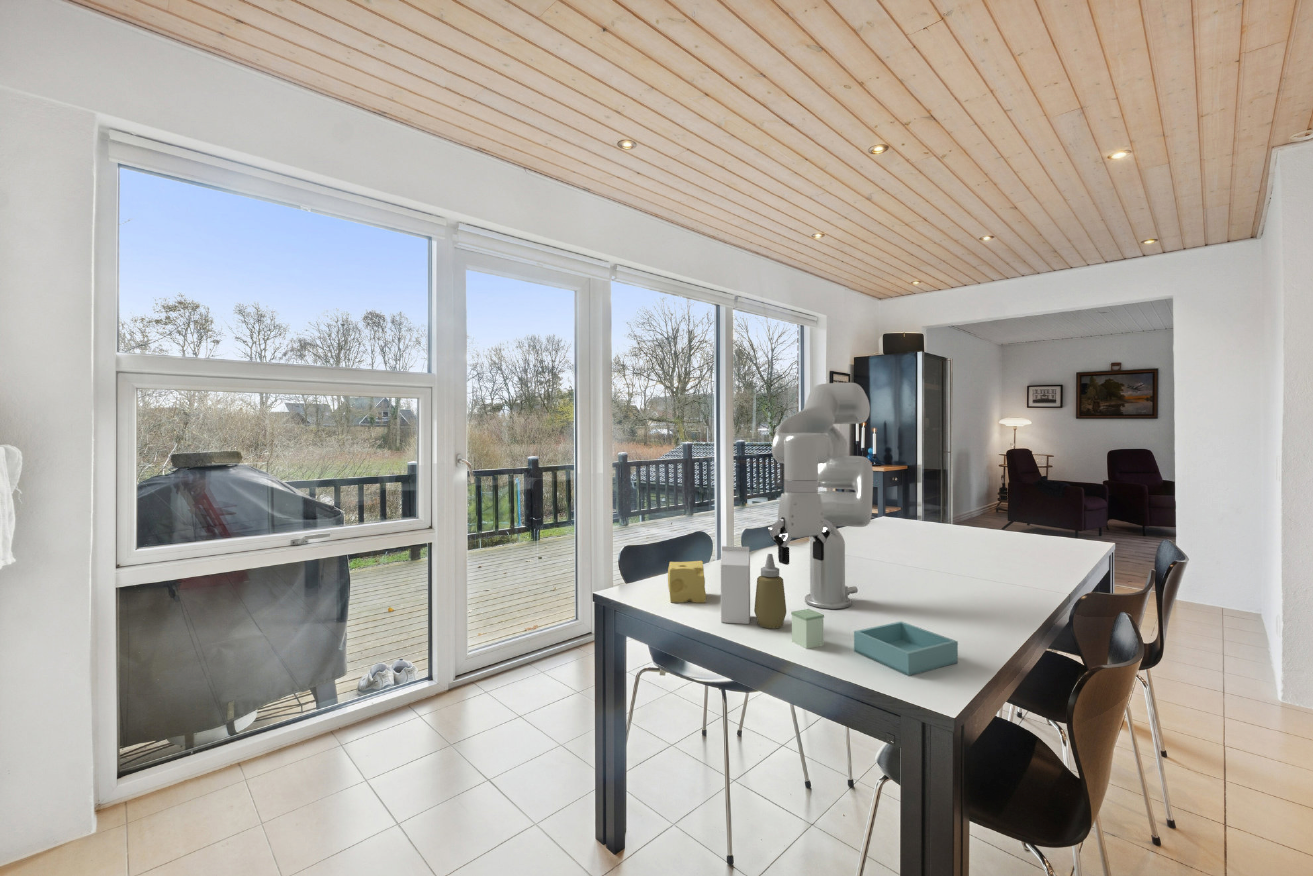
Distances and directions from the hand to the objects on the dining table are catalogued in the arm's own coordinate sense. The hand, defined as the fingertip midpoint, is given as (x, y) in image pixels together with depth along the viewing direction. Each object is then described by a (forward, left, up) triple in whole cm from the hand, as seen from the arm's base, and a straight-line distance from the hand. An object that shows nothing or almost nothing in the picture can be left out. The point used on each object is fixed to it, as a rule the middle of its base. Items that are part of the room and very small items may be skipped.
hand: (801, 561), depth 136 cm
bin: (-14, +17, -19) cm, 29 cm away
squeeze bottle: (-1, -13, -19) cm, 23 cm away
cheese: (+6, -44, -19) cm, 48 cm away
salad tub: (-1, +1, -19) cm, 19 cm away
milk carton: (+4, -21, -19) cm, 29 cm away
